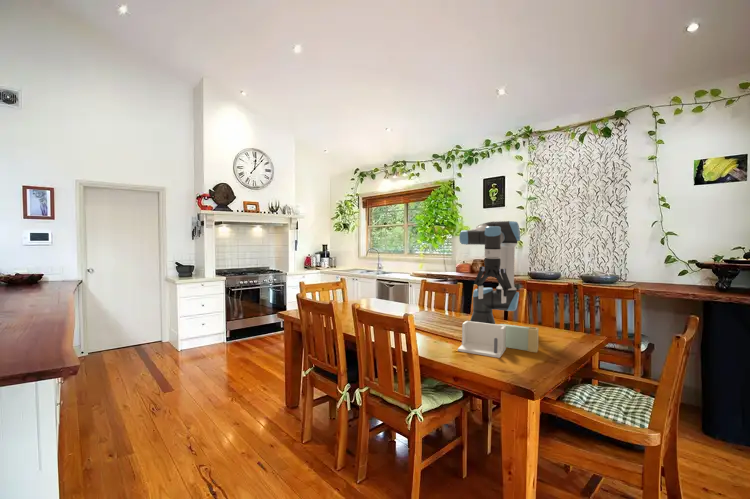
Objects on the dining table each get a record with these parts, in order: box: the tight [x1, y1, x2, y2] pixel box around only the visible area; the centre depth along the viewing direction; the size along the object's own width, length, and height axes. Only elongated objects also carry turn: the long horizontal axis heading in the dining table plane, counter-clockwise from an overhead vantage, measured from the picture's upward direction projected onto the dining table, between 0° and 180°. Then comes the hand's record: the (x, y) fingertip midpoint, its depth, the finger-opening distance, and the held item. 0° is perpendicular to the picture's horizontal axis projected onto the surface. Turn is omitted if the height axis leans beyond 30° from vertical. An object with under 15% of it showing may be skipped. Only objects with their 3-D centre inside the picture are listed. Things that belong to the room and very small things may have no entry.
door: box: [499, 323, 540, 353], centre depth 184 cm, size 5×18×11 cm, turn 60°
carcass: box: [457, 320, 507, 359], centre depth 181 cm, size 14×20×12 cm
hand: (491, 300), depth 181 cm, fingers open, 13 cm apart
